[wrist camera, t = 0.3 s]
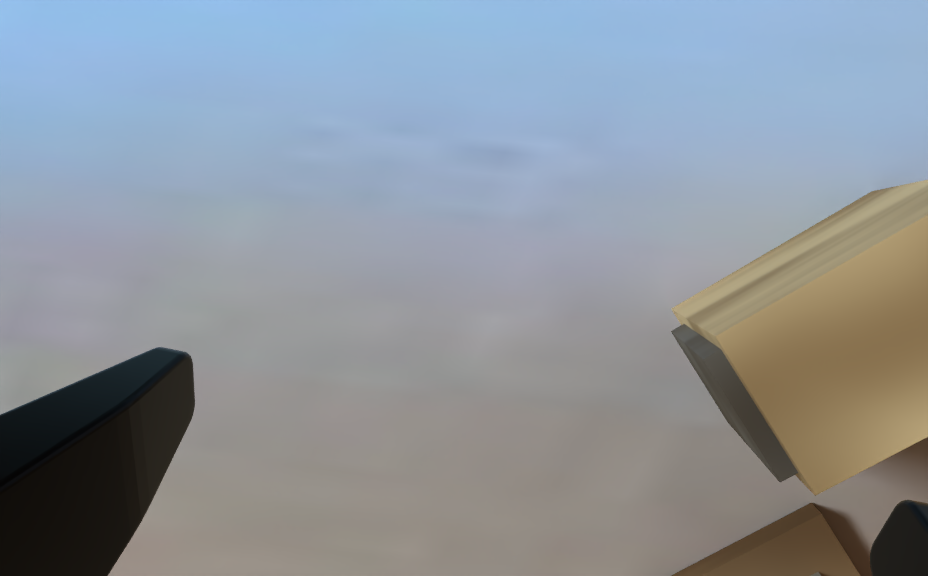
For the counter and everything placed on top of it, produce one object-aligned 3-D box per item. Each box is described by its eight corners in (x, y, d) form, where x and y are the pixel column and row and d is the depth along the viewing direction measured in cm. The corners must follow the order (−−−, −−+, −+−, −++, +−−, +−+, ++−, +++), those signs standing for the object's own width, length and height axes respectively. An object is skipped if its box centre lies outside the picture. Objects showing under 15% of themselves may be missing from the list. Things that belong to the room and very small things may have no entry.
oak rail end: (942, 302, 23) (1135, 328, 15) (724, 421, 24) (796, 505, 16) (871, 191, 23) (1024, 159, 15) (658, 315, 24) (697, 347, 16)
